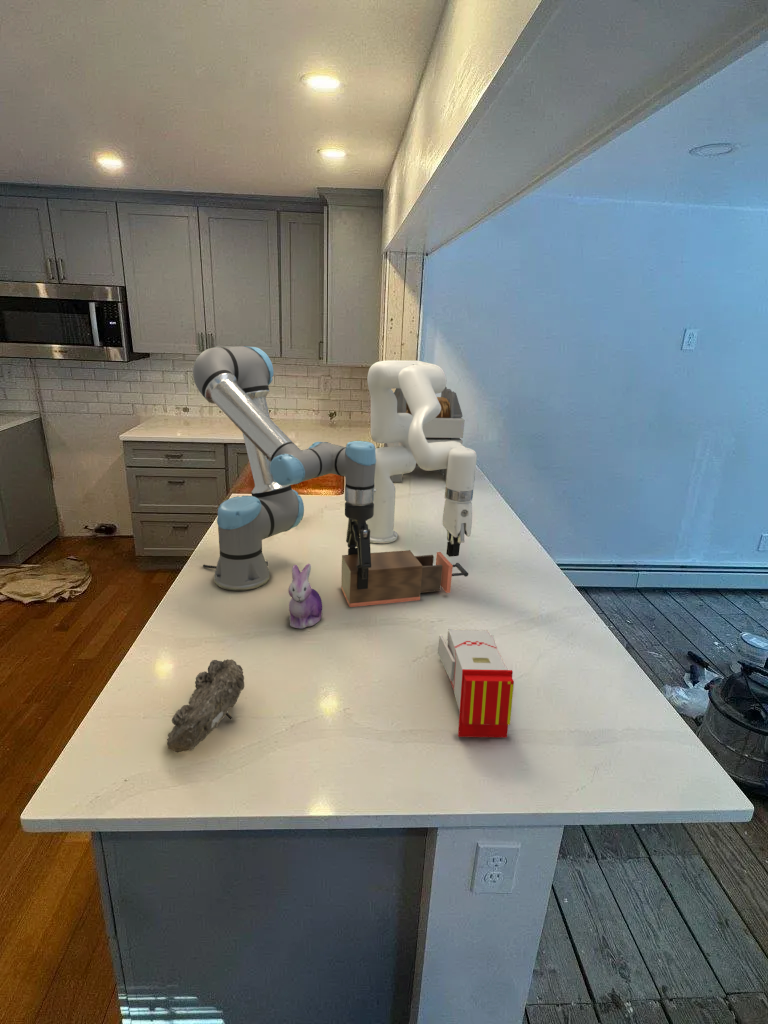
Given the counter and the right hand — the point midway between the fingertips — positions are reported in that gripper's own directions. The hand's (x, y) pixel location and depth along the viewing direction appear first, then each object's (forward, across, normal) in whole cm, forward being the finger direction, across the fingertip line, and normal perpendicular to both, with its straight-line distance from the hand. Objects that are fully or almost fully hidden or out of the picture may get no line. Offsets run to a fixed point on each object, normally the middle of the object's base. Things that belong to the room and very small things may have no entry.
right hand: (452, 555), depth 160 cm
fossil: (+10, -41, +66) cm, 78 cm away
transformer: (+12, +114, -32) cm, 119 cm away
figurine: (+10, -10, +43) cm, 45 cm away
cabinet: (+10, 0, +21) cm, 23 cm away
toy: (+9, -45, +14) cm, 48 cm away
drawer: (+9, 0, +8) cm, 12 cm away
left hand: (+5, 0, +28) cm, 28 cm away
